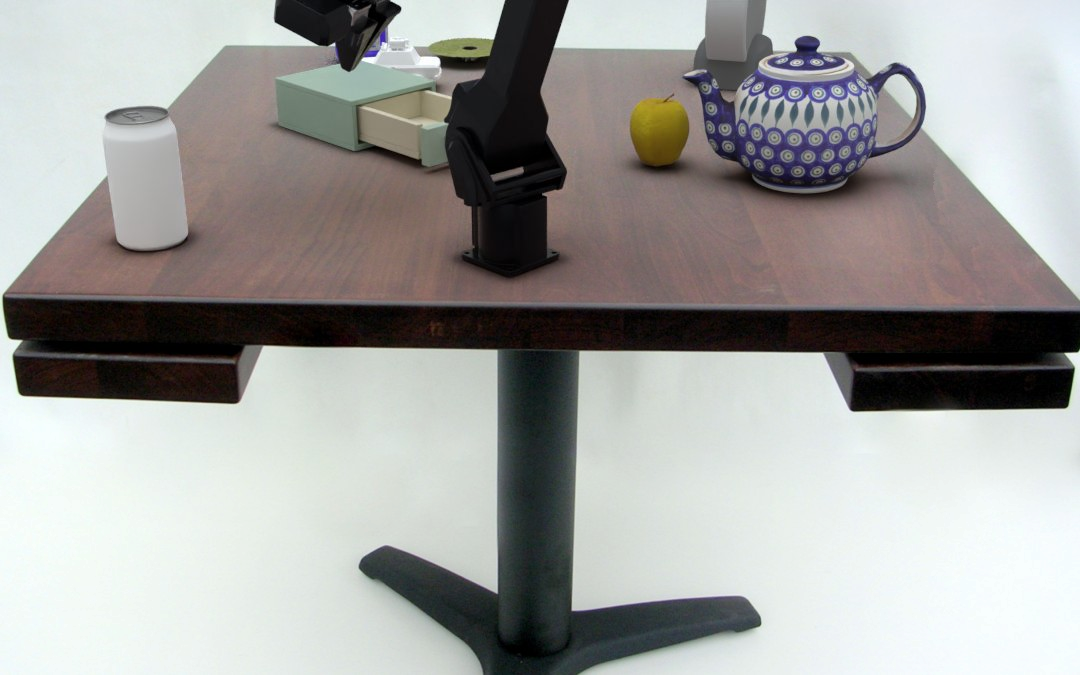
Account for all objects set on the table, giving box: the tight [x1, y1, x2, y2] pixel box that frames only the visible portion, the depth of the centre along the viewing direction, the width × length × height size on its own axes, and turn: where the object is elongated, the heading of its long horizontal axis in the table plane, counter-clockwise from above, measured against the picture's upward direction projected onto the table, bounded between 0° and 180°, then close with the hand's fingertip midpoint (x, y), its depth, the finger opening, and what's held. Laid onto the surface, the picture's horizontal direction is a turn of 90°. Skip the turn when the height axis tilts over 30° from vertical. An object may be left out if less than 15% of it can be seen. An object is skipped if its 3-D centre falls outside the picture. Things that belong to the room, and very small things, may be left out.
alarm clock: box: [692, 0, 774, 91], centre depth 176 cm, size 16×10×18 cm, turn 162°
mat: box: [427, 37, 494, 62], centre depth 188 cm, size 11×11×2 cm
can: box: [101, 105, 189, 252], centre depth 124 cm, size 6×6×12 cm
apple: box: [629, 92, 690, 168], centre depth 145 cm, size 6×6×8 cm
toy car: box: [361, 35, 443, 81], centre depth 173 cm, size 6×12×7 cm, turn 91°
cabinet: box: [274, 61, 437, 152], centre depth 158 cm, size 14×12×6 cm
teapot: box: [681, 35, 927, 194], centre depth 140 cm, size 25×15×15 cm, turn 87°
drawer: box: [356, 89, 452, 168], centre depth 149 cm, size 18×11×4 cm, turn 45°
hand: (347, 69), depth 135 cm, fingers closed
